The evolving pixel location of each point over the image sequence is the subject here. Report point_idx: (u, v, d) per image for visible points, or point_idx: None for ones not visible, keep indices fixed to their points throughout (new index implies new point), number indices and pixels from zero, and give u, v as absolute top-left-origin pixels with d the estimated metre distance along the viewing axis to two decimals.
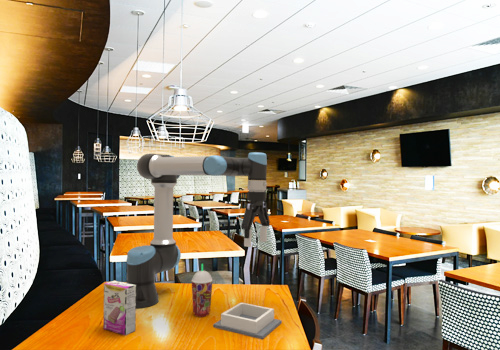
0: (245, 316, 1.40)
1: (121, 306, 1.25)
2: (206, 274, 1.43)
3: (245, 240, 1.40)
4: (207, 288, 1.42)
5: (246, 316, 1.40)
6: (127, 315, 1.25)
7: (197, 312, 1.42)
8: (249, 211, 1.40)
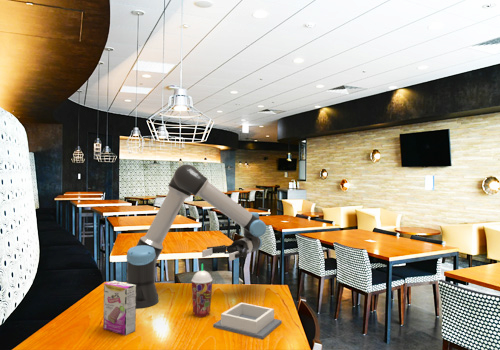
0: (245, 316, 1.40)
1: (121, 306, 1.25)
2: (206, 274, 1.43)
3: (233, 254, 1.52)
4: (207, 288, 1.42)
5: (246, 316, 1.40)
6: (127, 315, 1.25)
7: (197, 312, 1.42)
8: (247, 253, 1.62)
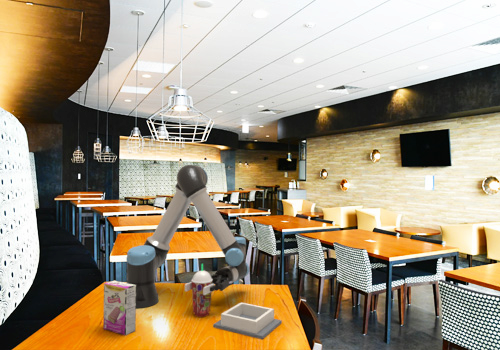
0: (245, 316, 1.40)
1: (121, 306, 1.25)
2: (206, 274, 1.43)
3: (208, 288, 1.40)
4: None
5: (246, 316, 1.40)
6: (127, 315, 1.25)
7: (197, 312, 1.42)
8: (228, 285, 1.50)
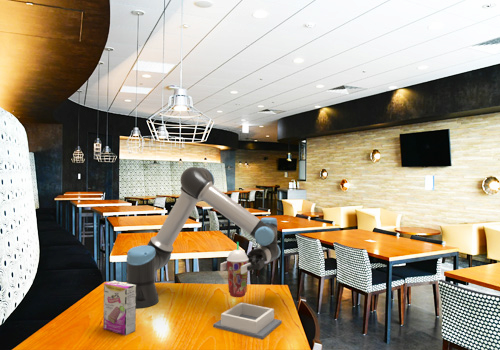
0: (245, 316, 1.40)
1: (121, 306, 1.25)
2: (242, 253, 1.37)
3: (245, 267, 1.34)
4: None
5: (246, 316, 1.40)
6: (127, 315, 1.25)
7: (234, 292, 1.35)
8: (264, 265, 1.43)
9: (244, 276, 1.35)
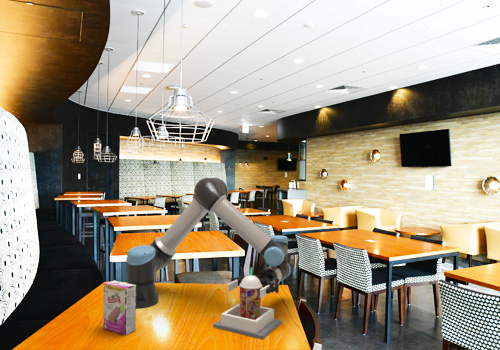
0: None
1: (121, 306, 1.25)
2: (256, 279, 1.33)
3: (264, 290, 1.31)
4: (257, 294, 1.32)
5: None
6: (127, 315, 1.25)
7: None
8: None
9: (257, 303, 1.32)
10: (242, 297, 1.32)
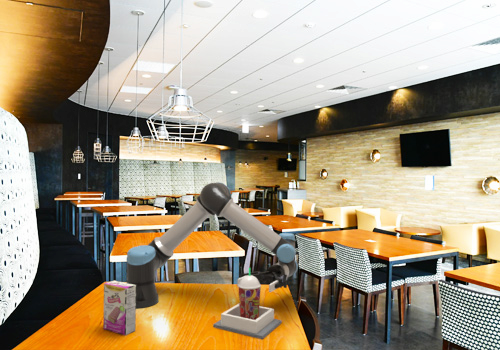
0: None
1: (121, 306, 1.25)
2: (254, 279, 1.33)
3: (273, 285, 1.36)
4: (256, 294, 1.32)
5: None
6: (127, 315, 1.25)
7: None
8: None
9: (256, 303, 1.32)
10: (241, 297, 1.32)
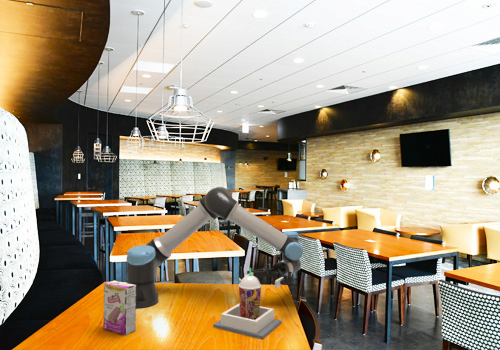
0: None
1: (121, 306, 1.25)
2: (255, 279, 1.33)
3: (279, 281, 1.42)
4: (257, 294, 1.32)
5: None
6: (127, 315, 1.25)
7: None
8: None
9: (257, 303, 1.32)
10: (241, 298, 1.32)
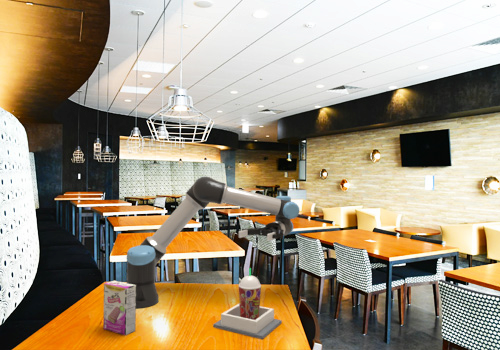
0: None
1: (121, 306, 1.25)
2: (255, 279, 1.33)
3: (271, 235, 1.52)
4: (256, 294, 1.32)
5: None
6: (127, 315, 1.25)
7: None
8: None
9: (256, 303, 1.32)
10: (241, 298, 1.32)
